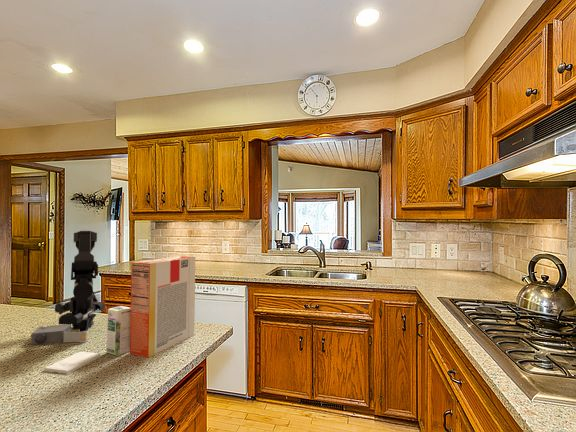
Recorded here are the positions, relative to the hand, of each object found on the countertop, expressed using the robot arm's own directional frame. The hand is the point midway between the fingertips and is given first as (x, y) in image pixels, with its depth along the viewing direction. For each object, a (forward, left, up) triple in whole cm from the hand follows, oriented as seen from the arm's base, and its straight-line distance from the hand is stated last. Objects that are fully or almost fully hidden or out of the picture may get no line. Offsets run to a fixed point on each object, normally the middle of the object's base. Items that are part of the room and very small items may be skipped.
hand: (83, 335), depth 120 cm
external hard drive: (-2, +21, -2) cm, 22 cm away
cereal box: (-28, +12, -2) cm, 31 cm away
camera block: (+11, -4, -2) cm, 12 cm away
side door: (+3, +1, -1) cm, 3 cm away
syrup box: (-14, +16, -2) cm, 21 cm away
